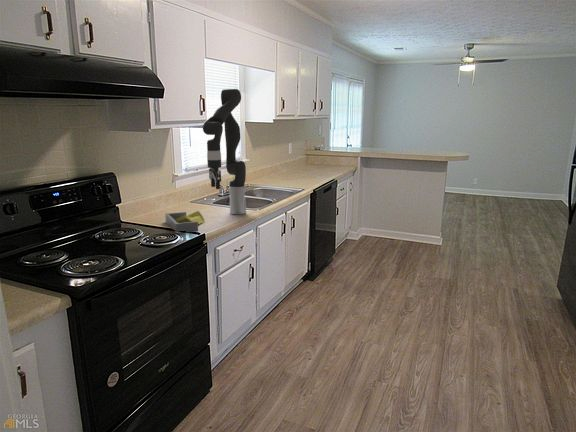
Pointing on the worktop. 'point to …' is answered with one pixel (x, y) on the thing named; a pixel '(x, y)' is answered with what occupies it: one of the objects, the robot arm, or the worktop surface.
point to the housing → (180, 226)
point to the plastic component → (191, 218)
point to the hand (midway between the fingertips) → (215, 187)
